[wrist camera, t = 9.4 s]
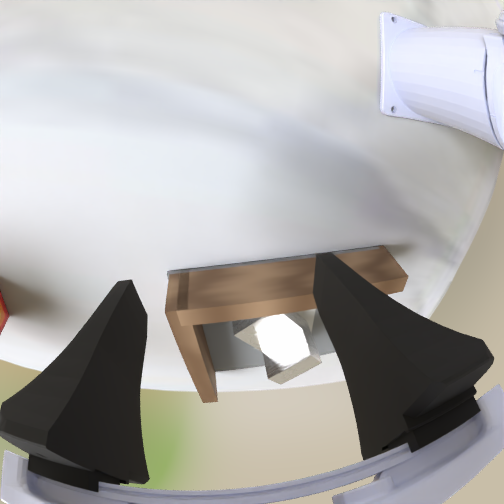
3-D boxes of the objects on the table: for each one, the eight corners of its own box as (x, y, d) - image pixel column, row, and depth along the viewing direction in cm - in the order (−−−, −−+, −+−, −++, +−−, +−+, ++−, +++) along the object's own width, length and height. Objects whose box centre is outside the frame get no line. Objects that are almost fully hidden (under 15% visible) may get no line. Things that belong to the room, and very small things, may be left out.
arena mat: (377, 246, 23) (380, 249, 23) (346, 346, 32) (348, 349, 31) (167, 271, 21) (166, 275, 21) (199, 370, 30) (199, 373, 30)
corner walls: (383, 245, 23) (408, 276, 19) (351, 345, 32) (363, 373, 28) (169, 270, 21) (164, 311, 18) (201, 369, 30) (203, 402, 26)
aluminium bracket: (307, 321, 26) (322, 362, 22) (270, 343, 28) (280, 384, 24) (271, 291, 23) (284, 337, 19) (231, 318, 25) (237, 364, 21)
